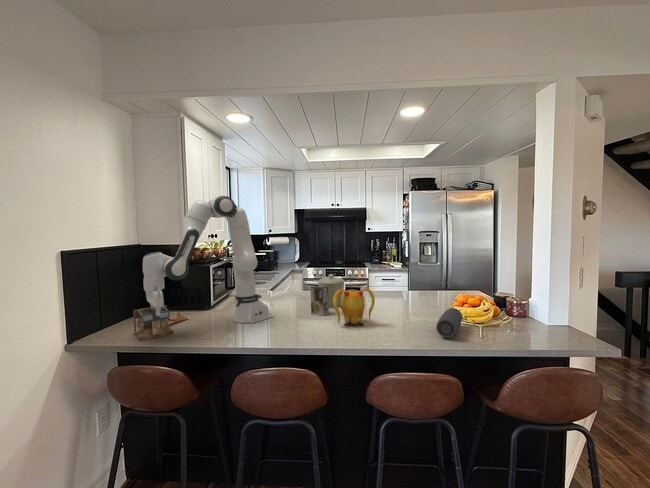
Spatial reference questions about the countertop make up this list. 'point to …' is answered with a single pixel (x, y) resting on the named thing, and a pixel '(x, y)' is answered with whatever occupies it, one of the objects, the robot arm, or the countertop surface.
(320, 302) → the coffee box
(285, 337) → the countertop surface
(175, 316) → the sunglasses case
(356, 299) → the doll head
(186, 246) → the robot arm
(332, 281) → the canister
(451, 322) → the bluetooth speaker
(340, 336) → the countertop surface
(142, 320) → the glasses
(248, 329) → the countertop surface
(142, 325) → the display stand
